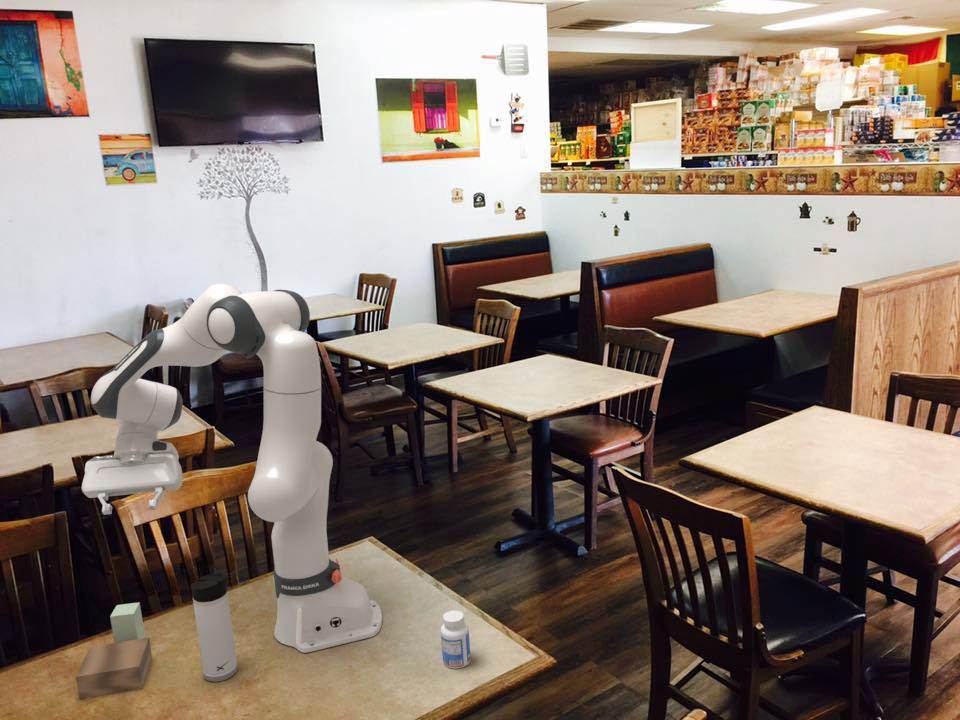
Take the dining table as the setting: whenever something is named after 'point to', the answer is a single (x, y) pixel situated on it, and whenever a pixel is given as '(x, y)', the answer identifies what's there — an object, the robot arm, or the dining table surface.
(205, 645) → the travel mug
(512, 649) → the dining table surface
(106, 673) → the walnut block
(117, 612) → the sage block
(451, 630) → the pill bottle
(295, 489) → the robot arm
